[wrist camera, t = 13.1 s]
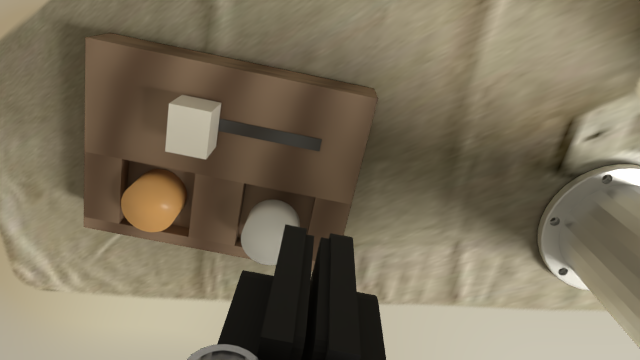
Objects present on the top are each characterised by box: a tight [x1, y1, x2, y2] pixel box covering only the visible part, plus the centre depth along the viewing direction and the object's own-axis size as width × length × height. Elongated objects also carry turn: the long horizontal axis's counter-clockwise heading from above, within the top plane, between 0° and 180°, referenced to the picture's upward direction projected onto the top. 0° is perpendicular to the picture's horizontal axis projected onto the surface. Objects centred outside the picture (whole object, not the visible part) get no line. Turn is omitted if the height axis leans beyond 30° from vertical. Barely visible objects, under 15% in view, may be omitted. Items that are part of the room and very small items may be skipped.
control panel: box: [84, 33, 378, 271], centre depth 39 cm, size 22×16×4 cm
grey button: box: [241, 200, 300, 265], centre depth 37 cm, size 4×4×3 cm
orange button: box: [121, 169, 187, 232], centre depth 38 cm, size 4×4×3 cm
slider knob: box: [165, 95, 221, 160], centre depth 34 cm, size 3×4×3 cm
